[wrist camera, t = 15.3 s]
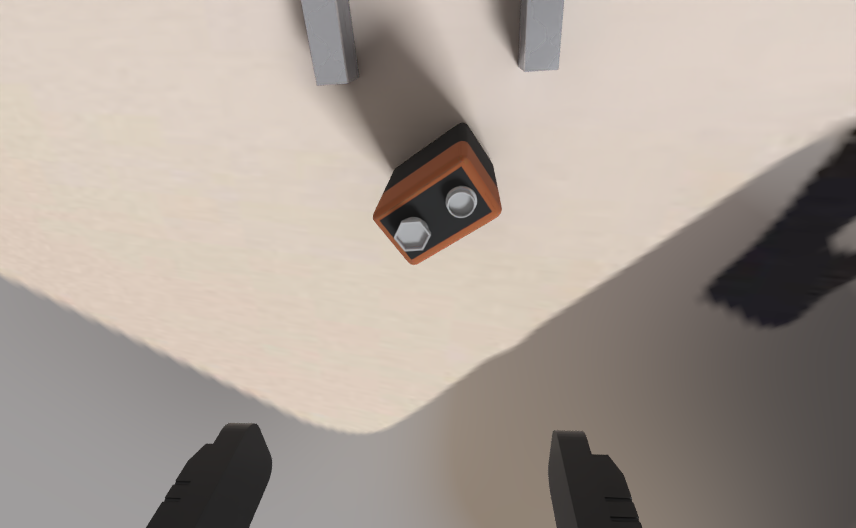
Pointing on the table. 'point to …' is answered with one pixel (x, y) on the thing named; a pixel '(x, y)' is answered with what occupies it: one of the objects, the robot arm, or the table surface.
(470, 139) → the battery
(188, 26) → the table surface
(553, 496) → the robot arm
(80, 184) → the table surface
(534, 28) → the housing
